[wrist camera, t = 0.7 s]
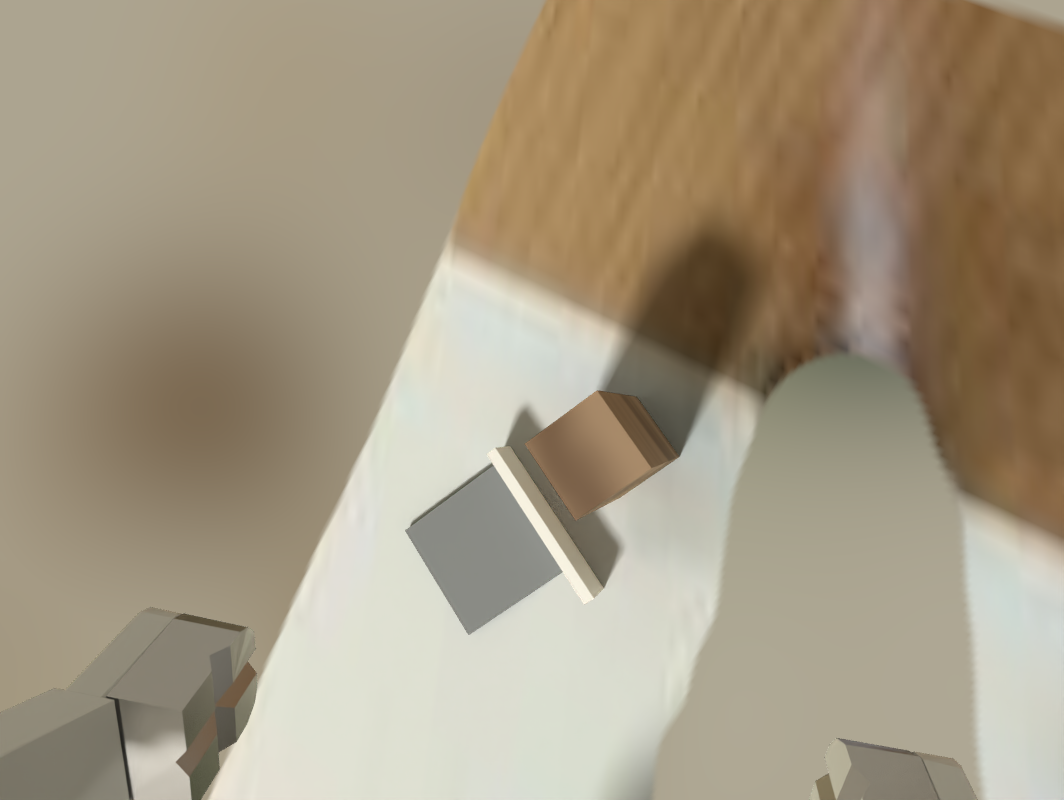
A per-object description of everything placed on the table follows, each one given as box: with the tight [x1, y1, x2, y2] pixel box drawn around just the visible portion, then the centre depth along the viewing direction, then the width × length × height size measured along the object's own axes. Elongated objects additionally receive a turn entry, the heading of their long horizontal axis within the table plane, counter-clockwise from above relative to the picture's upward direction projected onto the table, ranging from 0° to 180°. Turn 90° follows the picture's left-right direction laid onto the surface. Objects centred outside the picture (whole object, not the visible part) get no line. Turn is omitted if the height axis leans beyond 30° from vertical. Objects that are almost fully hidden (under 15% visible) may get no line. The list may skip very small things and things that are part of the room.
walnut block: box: [525, 391, 679, 521], centre depth 45 cm, size 5×5×12 cm
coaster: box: [405, 465, 563, 635], centre depth 53 cm, size 9×9×1 cm
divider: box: [487, 446, 604, 605], centre depth 51 cm, size 1×12×3 cm, turn 36°
